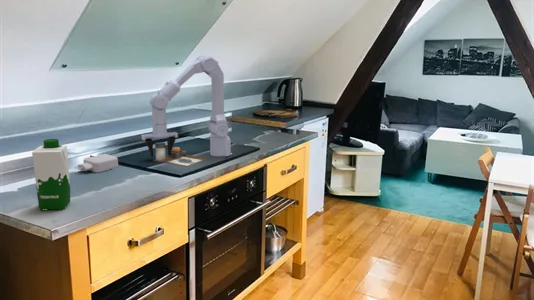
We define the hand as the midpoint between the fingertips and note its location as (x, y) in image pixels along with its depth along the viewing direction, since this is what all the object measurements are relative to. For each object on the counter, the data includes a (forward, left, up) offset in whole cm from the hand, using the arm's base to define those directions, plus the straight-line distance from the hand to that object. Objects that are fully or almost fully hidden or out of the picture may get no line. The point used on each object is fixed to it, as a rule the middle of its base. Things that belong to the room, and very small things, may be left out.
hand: (160, 155), depth 184 cm
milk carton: (+56, +7, -3) cm, 57 cm away
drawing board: (-5, +7, -3) cm, 9 cm away
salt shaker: (0, 0, -2) cm, 2 cm away
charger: (+23, -13, -3) cm, 27 cm away
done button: (-9, +2, 0) cm, 9 cm away
